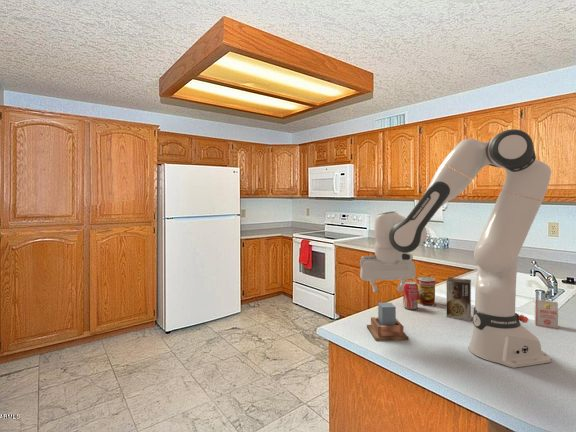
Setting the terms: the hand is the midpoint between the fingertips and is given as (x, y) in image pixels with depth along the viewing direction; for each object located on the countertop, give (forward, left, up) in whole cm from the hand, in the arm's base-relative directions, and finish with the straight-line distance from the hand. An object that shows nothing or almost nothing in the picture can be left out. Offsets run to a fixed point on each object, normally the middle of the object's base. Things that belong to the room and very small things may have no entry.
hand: (387, 291), depth 121 cm
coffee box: (-36, -15, -17) cm, 42 cm away
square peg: (0, 0, -15) cm, 15 cm away
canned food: (-30, -33, -17) cm, 48 cm away
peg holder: (0, 0, -16) cm, 16 cm away
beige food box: (-65, -4, -17) cm, 67 cm away
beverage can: (-20, -27, -17) cm, 37 cm away
